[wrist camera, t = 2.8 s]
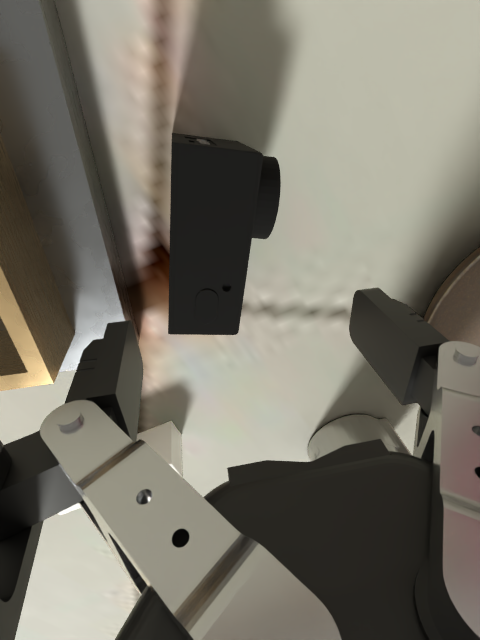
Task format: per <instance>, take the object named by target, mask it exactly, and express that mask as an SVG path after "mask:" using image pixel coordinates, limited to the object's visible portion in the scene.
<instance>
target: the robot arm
mask: <svg viewBox="0 0 480 640" xmlns="http://www.w3.org/2000/svg"><path fill="white" fill-rule="evenodd" d="M349 332H350V336H351V339H352V341H353V343H354V344H355V345H356V347H357V348H358V349H359V351H360V352H361V353H362V354H363V356H364V357H365V358H366V360H367V361H368V362H369V363H370V365H371V366H372V367H373V369H374V370H375V371H376V372H377V374H378V375H379V376H380V378H381V379H382V380H383V381H384V383H385V384H386V385H387V387H388V388H389V389H390V390H391V392H392V393H393V394H394V396H395V397H396V398H397V399H398V401H399V402H400V403H401V405H405V404H411V403H418V404H419V405H420V407H419V410H418V413H417V422H416V431H415V441H414V450H413V456H412V455H411V453H410V452H409V450H408V449H407V447H406V446H405V444H404V443H403V442H402V440H401V439H400V437H399V436H398V434H397V433H396V431H395V430H394V429H393V427H392V426H391V424H390V423H389V421H388V420H387V419H386V418H384V419H376V418H374V417H371V416H368V415H349V416H345V417H342V418H338V419H336V420H334V421H332V422H330V423H328V424H327V425H325V426H324V427H322V428H321V429H320V430H319V431H318V432H317V433H316V434H315V435H314V436H313V438H312V439H311V441H310V443H309V446H308V456H309V458H310V461H311V462H291V461H269V460H266V461H261V462H256V463H250V464H245V465H240V466H234V467H229V468H228V477H229V481H227V482H225V483H223V484H221V485H220V486H218V487H216V488H215V489H213V490H212V491H211V492H209V493H208V494H207V495H206V496H204V497H202V496H201V495H200V494H199V493H198V492H197V491H196V490H195V489H194V488H193V487H192V486H191V485H190V484H189V483H188V482H187V481H186V480H185V479H184V478H182V477H181V476H180V475H179V474H178V473H177V472H176V471H175V470H174V469H173V468H172V467H171V466H170V465H169V464H168V463H167V462H166V461H165V460H164V459H163V458H162V457H161V456H160V455H159V454H158V453H156V452H155V451H154V450H153V449H152V448H151V447H150V446H149V445H148V444H147V443H146V442H145V441H143V440H141V439H139V440H138V441H137V430H138V420H139V410H140V400H141V390H142V379H143V363H142V357H141V353H140V349H139V346H138V342H137V338H136V334H135V330H134V327H133V324H132V321H131V320H127V321H120V322H112V323H108V324H107V326H106V330H105V333H104V337H103V339H96V340H93V341H92V342H91V343H90V344H89V345H88V346H87V347H86V348H85V349H84V350H83V353H82V355H81V358H80V363H79V364H78V367H77V370H76V371H77V372H76V373H75V375H74V378H73V381H72V384H71V387H70V390H69V392H68V395H67V398H66V401H65V404H64V405H62V406H60V407H58V408H56V409H55V410H54V411H52V412H51V413H50V414H49V415H48V416H47V417H46V418H45V419H44V421H43V423H42V425H41V427H40V430H39V431H37V432H35V433H33V434H31V435H28V436H26V437H23V438H21V439H18V440H16V441H13V442H11V443H8V444H6V445H3V444H2V442H1V441H0V640H15V635H16V631H17V627H18V623H19V619H20V615H21V611H22V607H23V603H24V599H25V594H26V590H27V586H28V582H29V578H30V574H31V570H32V566H33V562H34V557H35V553H36V549H37V545H38V541H39V537H40V533H41V529H42V525H43V521H44V520H45V519H47V518H49V517H51V516H53V515H55V514H57V513H59V512H61V511H63V510H65V509H67V508H69V507H71V506H73V505H75V504H77V503H79V505H80V506H81V508H82V509H83V510H84V512H85V513H86V515H87V516H88V518H89V519H90V521H91V522H92V523H93V525H94V526H95V528H96V529H97V531H98V532H99V534H100V535H101V537H102V538H103V539H104V541H105V542H106V544H107V545H108V547H109V548H110V550H111V551H112V553H113V554H114V556H115V557H116V559H117V561H118V562H119V564H120V565H121V567H122V569H123V570H124V572H125V573H126V575H127V576H128V578H129V579H130V581H131V582H132V584H133V585H134V587H135V588H136V590H137V591H138V593H139V594H140V595H141V596H140V598H139V600H138V601H137V603H136V605H135V606H134V608H133V610H132V611H131V613H130V615H129V617H128V618H127V620H126V622H125V623H124V625H123V627H122V628H121V630H120V632H119V633H118V635H117V637H116V639H115V640H480V347H478V346H476V345H473V344H470V343H466V342H460V341H449V340H448V339H447V338H446V337H444V336H443V335H442V334H441V333H440V332H438V331H437V330H436V329H435V328H434V327H432V326H431V325H430V324H429V323H428V322H426V321H424V319H423V318H422V317H420V316H419V315H416V312H414V311H413V310H412V309H411V308H410V307H408V306H407V305H406V304H403V303H401V302H399V301H397V300H395V299H391V298H390V297H389V296H388V295H386V294H385V293H384V292H383V291H382V290H381V289H379V288H371V289H364V290H357V291H356V292H355V294H354V298H353V305H352V312H351V318H350V325H349Z"/></svg>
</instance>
